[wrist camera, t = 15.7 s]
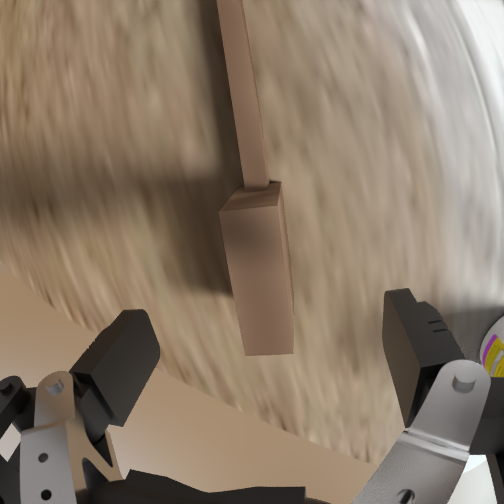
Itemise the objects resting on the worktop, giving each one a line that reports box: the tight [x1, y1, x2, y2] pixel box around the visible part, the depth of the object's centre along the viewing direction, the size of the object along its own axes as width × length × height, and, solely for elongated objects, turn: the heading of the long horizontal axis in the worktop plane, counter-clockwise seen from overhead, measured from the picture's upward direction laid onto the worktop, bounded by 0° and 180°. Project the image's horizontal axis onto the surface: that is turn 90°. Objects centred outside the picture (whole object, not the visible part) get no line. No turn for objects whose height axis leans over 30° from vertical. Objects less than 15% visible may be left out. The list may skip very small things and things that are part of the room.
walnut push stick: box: [216, 0, 294, 356], centre depth 14 cm, size 7×29×6 cm, turn 8°
